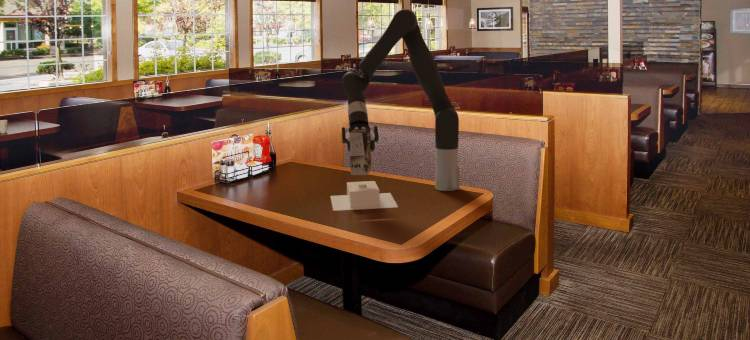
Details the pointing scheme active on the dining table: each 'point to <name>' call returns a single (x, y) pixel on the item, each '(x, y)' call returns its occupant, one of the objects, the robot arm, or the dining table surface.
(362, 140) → the grey tall block
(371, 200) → the beige cube with notch
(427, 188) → the dining table surface
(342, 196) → the mat
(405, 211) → the dining table surface
